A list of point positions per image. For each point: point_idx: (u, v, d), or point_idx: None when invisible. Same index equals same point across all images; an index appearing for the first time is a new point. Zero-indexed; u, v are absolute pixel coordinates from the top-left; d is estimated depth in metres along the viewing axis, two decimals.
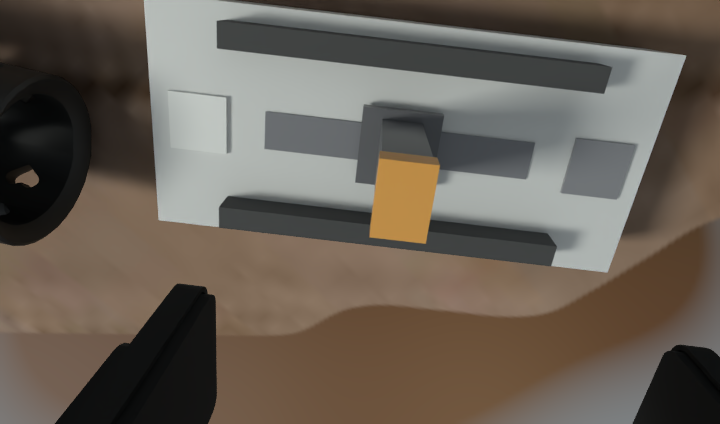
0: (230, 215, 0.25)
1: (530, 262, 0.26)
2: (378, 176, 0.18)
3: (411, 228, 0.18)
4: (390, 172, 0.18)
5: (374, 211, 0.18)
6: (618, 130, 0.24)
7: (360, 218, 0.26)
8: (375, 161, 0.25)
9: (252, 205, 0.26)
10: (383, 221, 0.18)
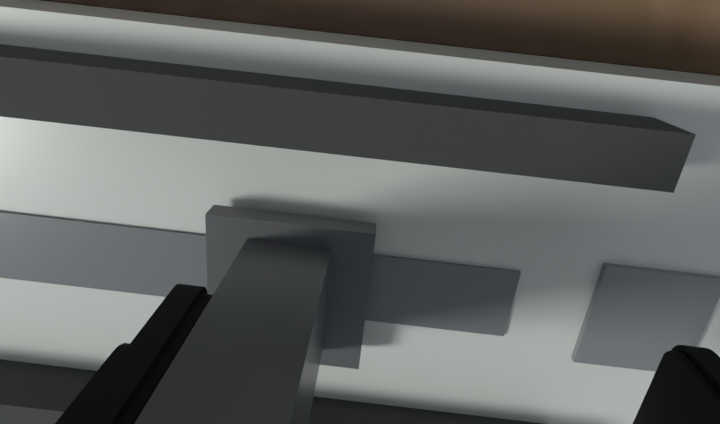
0: None
1: None
2: None
3: None
4: None
5: None
6: (691, 249, 0.12)
7: None
8: None
9: None
10: None
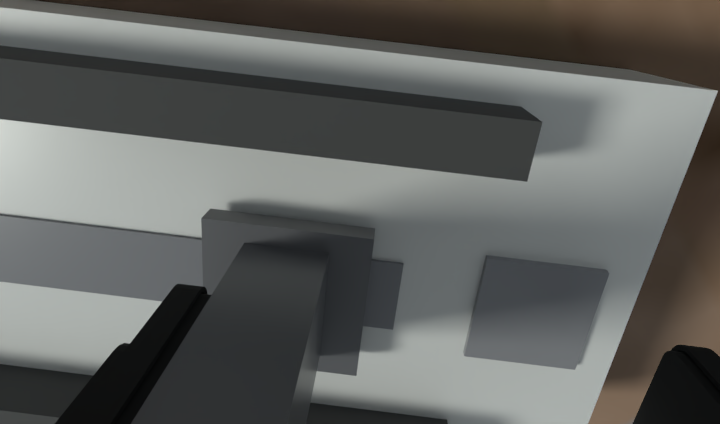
0: None
1: None
2: None
3: None
4: None
5: None
6: (572, 241, 0.12)
7: None
8: None
9: None
10: None
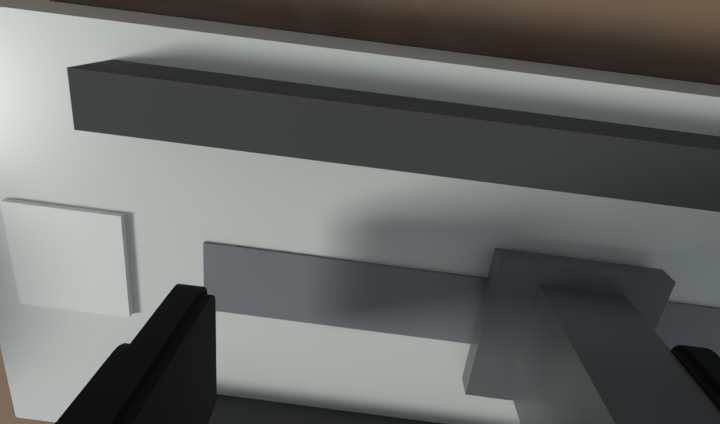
0: None
1: None
2: None
3: None
4: None
5: None
6: None
7: None
8: (512, 360, 0.12)
9: None
10: None
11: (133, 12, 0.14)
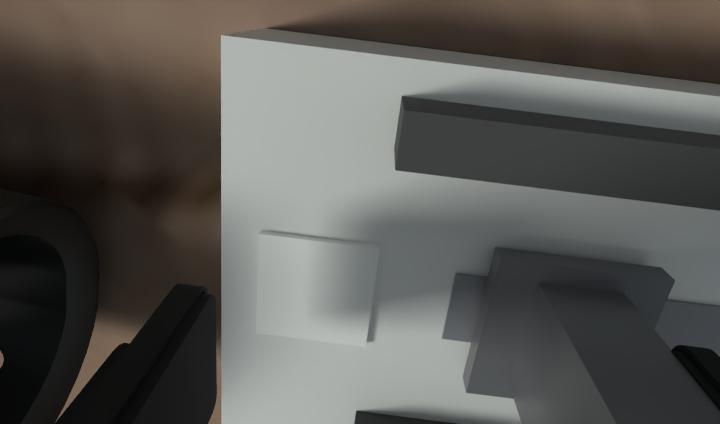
0: None
1: None
2: None
3: None
4: None
5: None
6: None
7: None
8: (512, 358, 0.12)
9: None
10: None
11: (358, 40, 0.14)
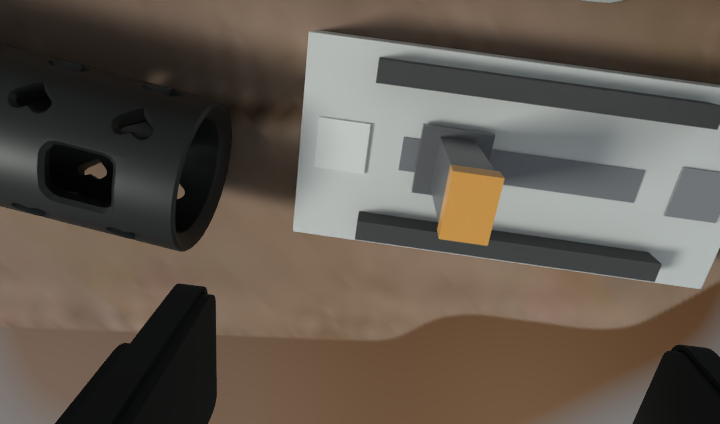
0: (367, 228, 0.28)
1: (636, 278, 0.28)
2: (450, 186, 0.21)
3: (476, 232, 0.21)
4: (461, 183, 0.20)
5: (445, 216, 0.21)
6: None
7: None
8: (431, 174, 0.28)
9: (384, 220, 0.29)
10: (452, 225, 0.21)
11: (363, 36, 0.29)
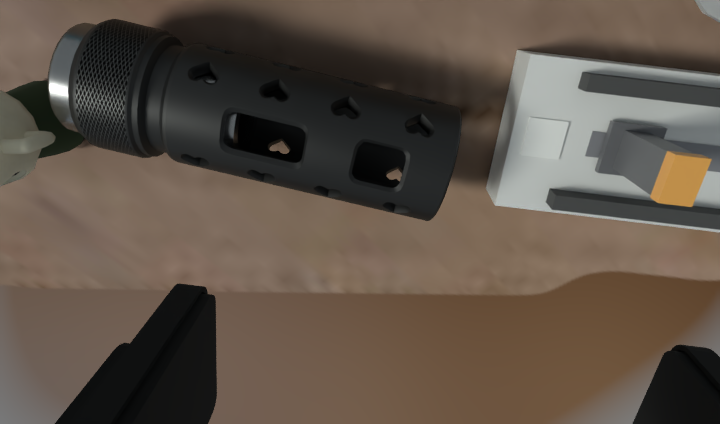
0: (562, 201, 0.38)
1: None
2: (672, 165, 0.30)
3: (685, 197, 0.30)
4: (680, 163, 0.30)
5: (664, 187, 0.30)
6: None
7: (647, 203, 0.38)
8: (614, 158, 0.37)
9: (573, 194, 0.38)
10: (668, 193, 0.30)
11: (553, 54, 0.38)
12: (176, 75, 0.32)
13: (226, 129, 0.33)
